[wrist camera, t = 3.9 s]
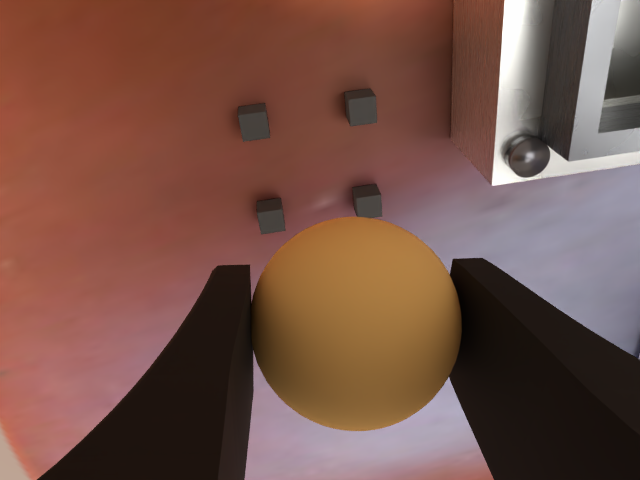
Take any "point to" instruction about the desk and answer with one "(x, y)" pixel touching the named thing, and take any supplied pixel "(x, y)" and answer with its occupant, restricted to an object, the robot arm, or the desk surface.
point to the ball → (355, 323)
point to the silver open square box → (546, 86)
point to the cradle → (257, 127)
